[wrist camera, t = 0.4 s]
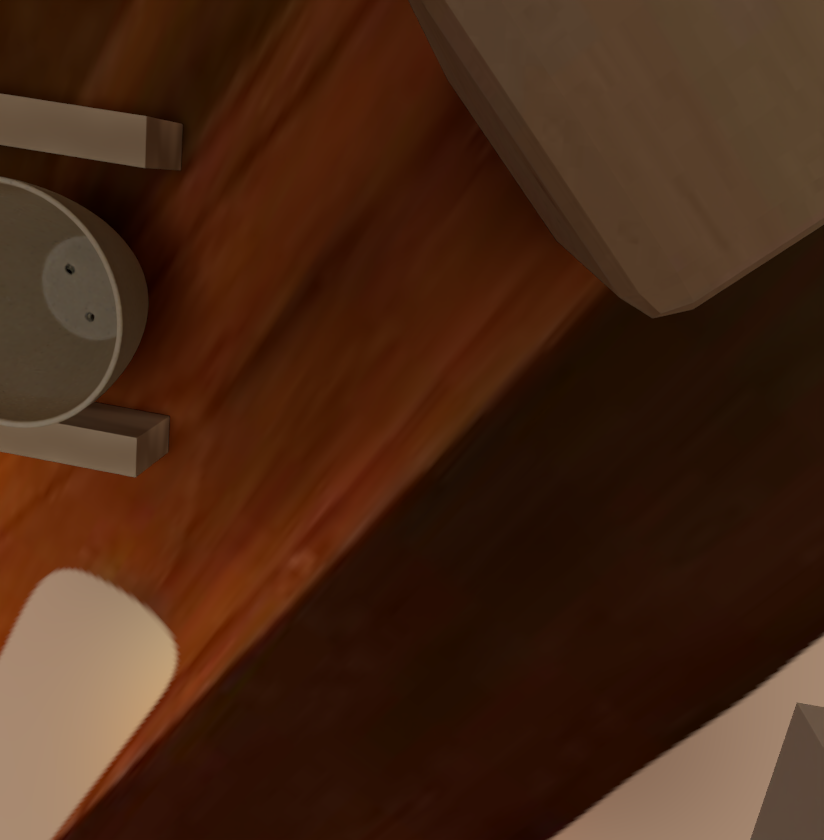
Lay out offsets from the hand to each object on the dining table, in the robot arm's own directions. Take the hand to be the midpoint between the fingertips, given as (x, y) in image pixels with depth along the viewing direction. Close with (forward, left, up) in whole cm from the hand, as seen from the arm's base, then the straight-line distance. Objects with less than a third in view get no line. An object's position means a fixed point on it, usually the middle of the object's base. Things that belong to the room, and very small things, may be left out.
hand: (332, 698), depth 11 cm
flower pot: (0, -18, -25) cm, 30 cm away
